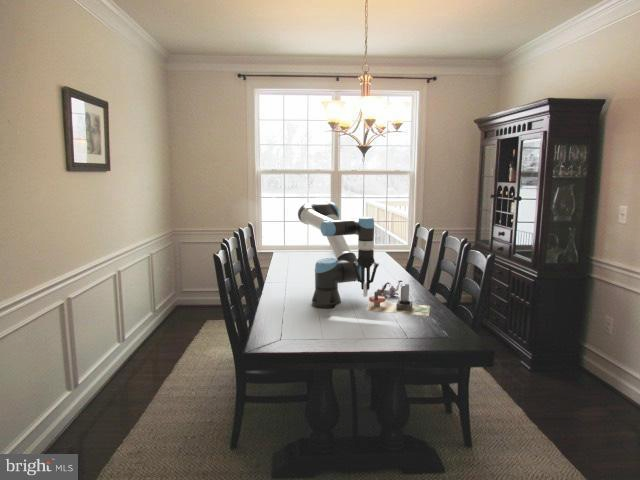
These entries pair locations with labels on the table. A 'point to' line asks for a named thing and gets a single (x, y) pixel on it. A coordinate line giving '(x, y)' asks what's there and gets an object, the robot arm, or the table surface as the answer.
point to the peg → (404, 294)
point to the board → (400, 308)
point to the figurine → (388, 292)
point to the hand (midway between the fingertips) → (365, 295)
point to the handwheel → (376, 299)
